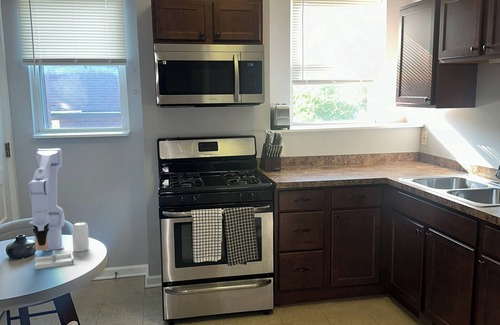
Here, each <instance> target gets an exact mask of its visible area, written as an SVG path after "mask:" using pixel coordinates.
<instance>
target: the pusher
mask: <svg viewBox="0 0 500 325" xmlns="http://www.w3.org/2000/svg"><path fill="white" fill-rule="evenodd" d="M51 251H52V255H53V262H56V256H55V255H56V249H55V250H51Z"/></svg>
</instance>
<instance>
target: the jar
mask: <svg viewBox="0 0 500 325" xmlns="http://www.w3.org/2000/svg"><path fill="white" fill-rule="evenodd" d="M34 243H35V244H34V245H35V251H38V252H39V251H44V250H46V249H48V238H47V236H46V244H45V245H43V246H39V244H38V240H37V237H36V235H35V234H34Z"/></svg>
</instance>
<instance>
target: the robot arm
mask: <svg viewBox="0 0 500 325" xmlns="http://www.w3.org/2000/svg"><path fill="white" fill-rule="evenodd" d="M35 158H36V161H37V164H38V166H39V167H38V168H37V169H35V171H34V174H33V178H32V180H30V181H29V182H28V187H27V188H28V193H29V199H30V200H31V212H32V215H31V216H32V221H30V220H29V225H33V229H32V231H33V233H34V236H35V235H36V237H37V240H38V244H39V246H43V245H45V244H46V236H47V238H48V249H46V250H43V251H45V252H46V251H47V252H48V251H53V250H55V251H56V250H63V249H64V242H63V237H62V233H63V232H62V227H63V226H64V225H65V221H66V220H65V219H66V218H65V210H64V209H63V208H62V207H60V206H59V205H58V171H59V169H61V168H62V167H63V150H62V149H61V148H60V147H59V148H37V150H36V152H35Z"/></svg>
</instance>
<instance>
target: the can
mask: <svg viewBox="0 0 500 325" xmlns="http://www.w3.org/2000/svg"><path fill="white" fill-rule="evenodd" d="M88 226H89V225H88V223H87V221H75V222H73V223H72V227H71V230H72V231H71V232H72V234H71V235H72V249H73V251H74V252H76V253H83V252H86V251H88V250H90V249H89V248H90V243H89V242H90V240H89V227H88ZM82 251H83V252H82Z"/></svg>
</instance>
